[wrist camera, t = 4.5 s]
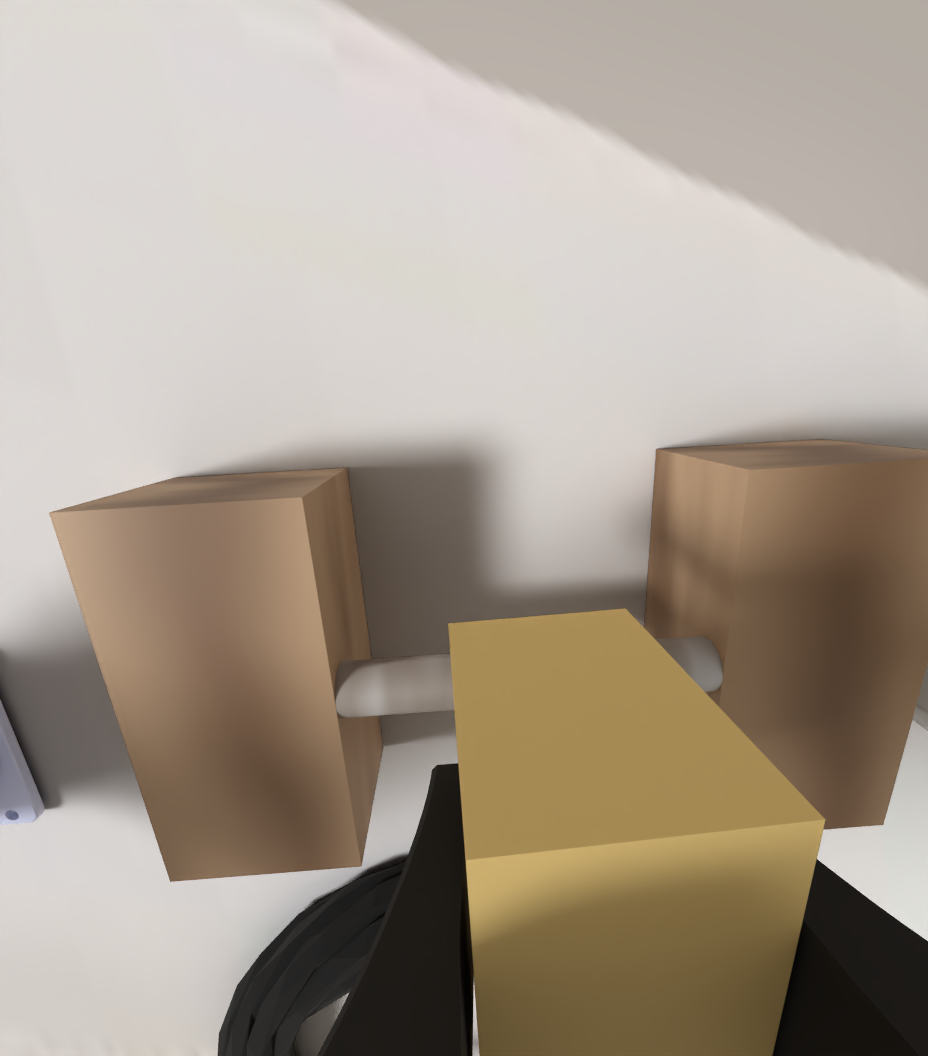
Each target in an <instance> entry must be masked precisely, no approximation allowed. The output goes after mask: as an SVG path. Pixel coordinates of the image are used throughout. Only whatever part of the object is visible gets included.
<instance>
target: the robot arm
mask: <svg viewBox="0 0 928 1056" xmlns="http://www.w3.org/2000/svg"><path fill="white" fill-rule="evenodd" d="M43 812H44V804H43V802H42V800H41V797H40V795H39V792H38V790H37V787H36V785H35V783H34V780H33V778H32V775H31V773H30V770H29V768H28V766H27V763H26V761H25V758H24V756H23V753H22V751H21V748H20V746H19V744H18V741H17V739H16V736H15V734H14V731H13V729H12V727H11V724H10V722H9V719H8V717H7V714H6V712H5V710H4V707H3V705H2V702H1V700H0V825H4V824H17V823H29V822H33V821H35V820H36V819H37V818H38V817H39V816H40V815H41V814H42V813H43ZM473 983H474V969H473V955H472V942H471V928H470V914H469V900H468V886H467V872H466V858H465V845H464V831H463V818H462V804H461V791H460V777H459V764H445V765H437V766H436V767H435V768H434V769H433V770H432V774H431V780H430V785H429V790H428V794H427V798H426V802H425V805H424V809H423V812H422V815H421V819H420V822H419V825H418V829H417V832H416V835H415V837H414V840H413V843H412V846H411V849H410V852H409V854H408V857H407V860H406V863H405V866H404V869H403V871H402V874H401V877H400V879H399V882H398V884H397V887H396V889H395V891H394V894H393V896H392V899H391V901H390V904H389V906H388V908H387V911H386V913H385V916H384V918H383V921H382V923H381V925H380V928H379V930H378V932H377V935H376V937H375V939H374V942H373V944H372V946H371V948H370V950H369V953H368V955H367V957H366V959H365V961H364V964H363V966H362V968H361V970H360V972H359V974H358V976H357V978H356V980H355V983H354V985H353V987H352V989H351V991H350V993H349V995H348V997H347V999H346V1001H345V1003H344V1005H343V1007H342V1009H341V1011H340V1013H339V1015H338V1017H337V1019H336V1021H335V1023H334V1025H333V1027H332V1029H331V1031H330V1033H329V1035H328V1036H327V1038H326V1040H325V1042H324V1044H323V1046H322V1048H321V1050H320V1052H319V1054H318V1056H472V1045H473ZM772 1056H928V941H927V940H925V939H924V938H922V937H921V936H920V935H918V934H917V933H915V932H914V931H912V930H911V929H909V928H908V927H907V926H905V925H904V924H902V923H901V922H900V921H898V920H897V919H895V918H894V917H893V916H891V915H890V914H889V913H887V912H886V911H884V910H883V909H882V908H880V907H879V906H878V905H876V904H875V903H873V902H872V901H871V900H869V899H868V898H867V897H866V896H864V895H863V894H862V893H860V892H859V891H858V890H856V889H855V888H854V887H852V886H851V885H850V884H848V883H847V882H846V881H845V880H843V879H842V878H841V877H839V876H838V875H837V874H835V873H834V872H833V871H831V870H830V869H829V868H828V867H826V866H825V865H824V864H822V863H821V862H820V861H819V860H817V859H816V864H815V868H814V873H813V877H812V882H811V886H810V890H809V895H808V899H807V904H806V908H805V913H804V917H803V922H802V926H801V931H800V935H799V939H798V944H797V948H796V953H795V957H794V962H793V966H792V971H791V975H790V979H789V984H788V988H787V993H786V997H785V1002H784V1006H783V1011H782V1015H781V1019H780V1024H779V1028H778V1033H777V1037H776V1042H775V1046H774V1051H773V1055H772Z"/></svg>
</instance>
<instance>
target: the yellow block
mask: <svg viewBox="0 0 928 1056" xmlns="http://www.w3.org/2000/svg"><path fill="white" fill-rule="evenodd" d="M448 628H449V642H450V656H451V670H452V683H453V697H454V710H455V723H456V737H457V750H458V764H459V777H460V791H461V804H462V818H463V831H464V845H465V858H466V872H467V886H468V900H469V914H470V928H471V942H472V955H473V969H474V985H475V998H476V1012H477V1025H478V1039H479V1053H480V1056H772V1055H773V1051H774V1046H775V1042H776V1037H777V1033H778V1028H779V1024H780V1019H781V1015H782V1011H783V1006H784V1002H785V997H786V993H787V988H788V984H789V979H790V975H791V971H792V966H793V962H794V957H795V953H796V948H797V944H798V939H799V935H800V931H801V926H802V922H803V917H804V913H805V908H806V904H807V899H808V895H809V890H810V886H811V882H812V877H813V873H814V868H815V864H816V859H817V855H818V850H819V846H820V842H821V837H822V833H823V828H824V824H825V819H824V818H823V816H822V815H821V814H820V813H819V812H818V811H817V810H816V809H815V808H814V807H813V806H812V805H811V804H810V803H809V802H808V801H807V800H806V799H805V797H804V796H803V795H802V794H801V793H800V792H799V791H798V790H797V789H796V788H795V787H794V786H793V785H792V784H791V783H790V782H789V781H788V779H787V778H786V777H785V776H784V775H783V774H782V773H781V772H780V771H779V770H778V769H777V768H776V767H775V766H774V765H773V764H772V763H771V761H770V760H769V759H768V758H767V757H766V756H765V755H764V754H763V753H762V752H761V751H760V750H759V749H758V748H757V747H756V746H755V745H754V744H753V742H752V741H751V740H750V739H749V738H748V737H747V736H746V735H745V734H744V733H743V732H742V731H741V730H740V729H739V728H738V727H737V726H736V724H735V723H734V722H733V721H732V720H731V719H730V718H729V717H728V716H727V715H726V714H725V713H724V712H723V711H722V710H721V709H720V708H719V707H718V705H717V704H716V703H715V702H714V701H713V700H712V699H711V698H710V697H709V696H708V695H707V694H706V693H705V692H704V691H703V690H702V689H701V687H700V686H699V685H698V684H697V683H696V682H695V681H694V680H693V679H692V678H691V677H690V676H689V675H688V674H687V673H686V672H685V671H684V670H683V668H682V667H681V666H680V665H679V664H678V663H677V662H676V661H675V660H674V659H673V658H672V657H671V656H670V655H669V654H668V653H667V652H666V650H665V649H664V648H663V647H662V646H661V645H660V644H659V643H658V642H657V641H656V640H655V639H654V638H653V637H652V636H651V635H650V634H649V632H648V631H647V630H646V629H645V628H644V627H643V626H642V625H641V624H640V623H639V622H638V621H637V620H636V619H635V618H634V617H633V616H632V615H631V613H630V612H629V611H628V610H627V609H626V608H625V609H613V610H601V611H589V612H578V613H566V614H554V615H542V616H530V617H518V618H506V619H494V620H482V621H471V622H459V623H448Z"/></svg>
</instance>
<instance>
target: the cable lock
mask: <svg viewBox="0 0 928 1056" xmlns="http://www.w3.org/2000/svg"><path fill="white" fill-rule="evenodd" d="M405 863H406V862H403V863H401V864H398V865H395V866H393V867H390V868H387V869H385V870H382V871H379V872H377V873H374V874H371V875H369V876H366V877H363V878H360V879H358V880H355V881H353V882H351V883H349V884H348V885H346V886H344V887H343V888H341V889H339V890H338V891H336V892H334V893H333V894H331V895H329V896H328V897H326V898H324V899H323V900H321V901H320V902H318V903H316V904H315V905H313V906H311V907H310V908H308V909H306V910H305V911H303V912H301V913H300V914H298V915H297V916H296V917H295V919H294V920H293V921H292V922H291V923H290V924H289V925H288V926H287V927H286V928H285V929H284V930H283V931H282V932H281V933H280V934H279V935H278V936H277V937H276V938H275V939H274V940H273V941H272V942H271V943H270V945H269V946H268V947H267V948H266V949H265V950H264V951H263V952H262V953H261V954H260V955H259V957H258V958H257V960H256V961H255V962H254V964H253V965H252V966H251V968H250V969H249V970H248V972H247V973H246V974H245V976H244V977H243V978H242V980H241V981H240V982H239V984H238V985H237V987H236V990H235V993H234V995H233V998H232V1001H231V1003H230V1006H229V1009H228V1011H227V1014H226V1016H225V1019H224V1022H223V1024H222V1027H221V1030H220V1032H219V1042H218V1056H296V1055H295V1052H294V1049H293V1044H294V1040H295V1037H296V1034H297V1032H298V1030H299V1028H300V1026H301V1024H302V1023H303V1021H304V1020H305V1019H306V1018H308V1017H310V1016H311V1015H313V1014H315V1013H316V1012H318V1011H319V1010H321V1009H323V1008H324V1007H326V1006H328V1005H329V1004H331V1003H332V1002H334V1001H336V1000H337V999H339V998H341V997H342V996H344V995H346V994H347V993H349V992H350V991H351V989H352V987H353V985H354V983H355V980H356V978H357V976H358V974H359V972H360V970H361V968H362V966H363V964H364V961H365V959H366V957H367V955H368V953H369V950H370V948H371V946H372V944H373V942H374V939H375V937H376V935H377V932H378V930H379V928H380V925H381V923H382V921H383V918H384V916H385V913H386V911H387V908H388V906H389V904H390V901H391V899H392V896H393V894H394V891H395V889H396V887H397V884H398V882H399V879H400V877H401V874H402V871H403V869H404V866H405Z"/></svg>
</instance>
